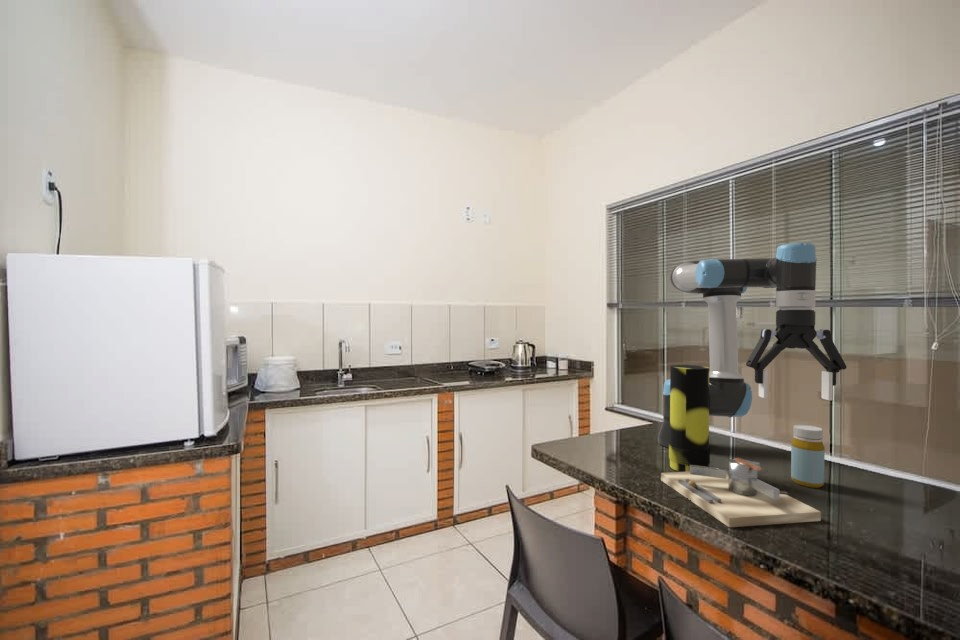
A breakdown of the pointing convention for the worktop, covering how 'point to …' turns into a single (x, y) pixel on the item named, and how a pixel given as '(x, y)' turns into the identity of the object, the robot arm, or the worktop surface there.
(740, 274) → the robot arm
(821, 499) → the worktop surface
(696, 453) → the container
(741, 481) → the capstan
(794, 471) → the bottle
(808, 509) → the stand
